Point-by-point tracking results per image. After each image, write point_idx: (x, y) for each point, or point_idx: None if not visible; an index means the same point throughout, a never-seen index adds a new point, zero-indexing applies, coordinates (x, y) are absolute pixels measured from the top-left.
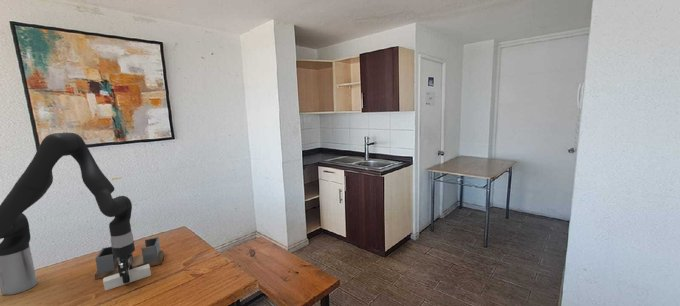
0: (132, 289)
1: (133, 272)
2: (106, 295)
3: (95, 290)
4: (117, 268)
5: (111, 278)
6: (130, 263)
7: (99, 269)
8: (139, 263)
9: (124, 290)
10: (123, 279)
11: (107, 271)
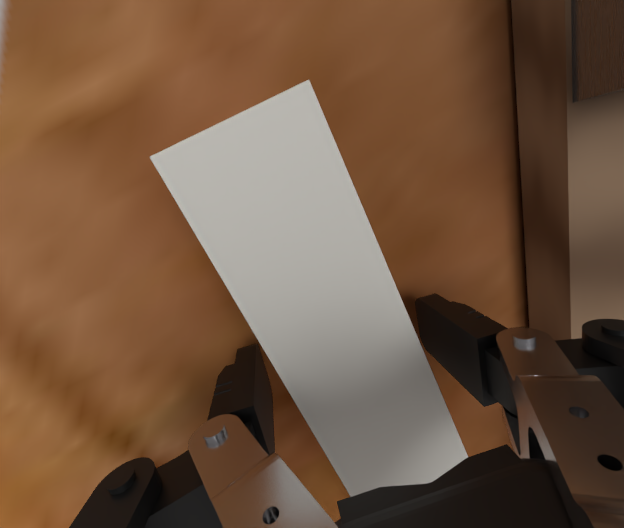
0: (153, 445)
1: (337, 464)
2: (82, 238)
3: (225, 37)
4: (605, 123)
5: (248, 238)
6: (518, 454)
7: None
8: None
9: (150, 380)
10: (215, 399)
11: (578, 9)
